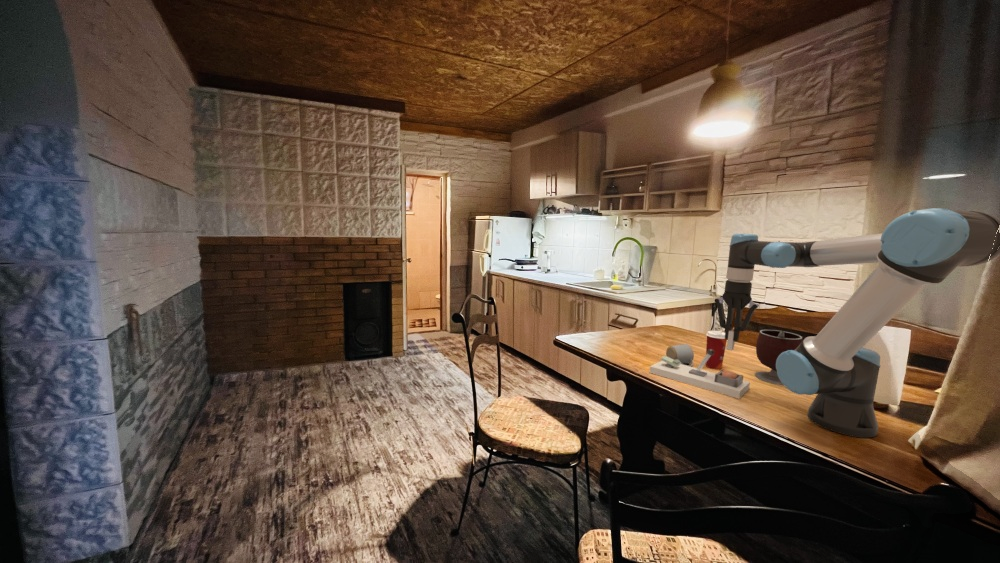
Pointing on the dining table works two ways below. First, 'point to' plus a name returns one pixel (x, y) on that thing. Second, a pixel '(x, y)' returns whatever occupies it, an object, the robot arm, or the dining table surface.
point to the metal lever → (705, 359)
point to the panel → (702, 379)
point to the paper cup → (716, 348)
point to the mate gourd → (774, 351)
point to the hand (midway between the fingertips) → (730, 349)
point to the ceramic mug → (681, 353)
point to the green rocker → (671, 361)
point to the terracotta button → (729, 374)
